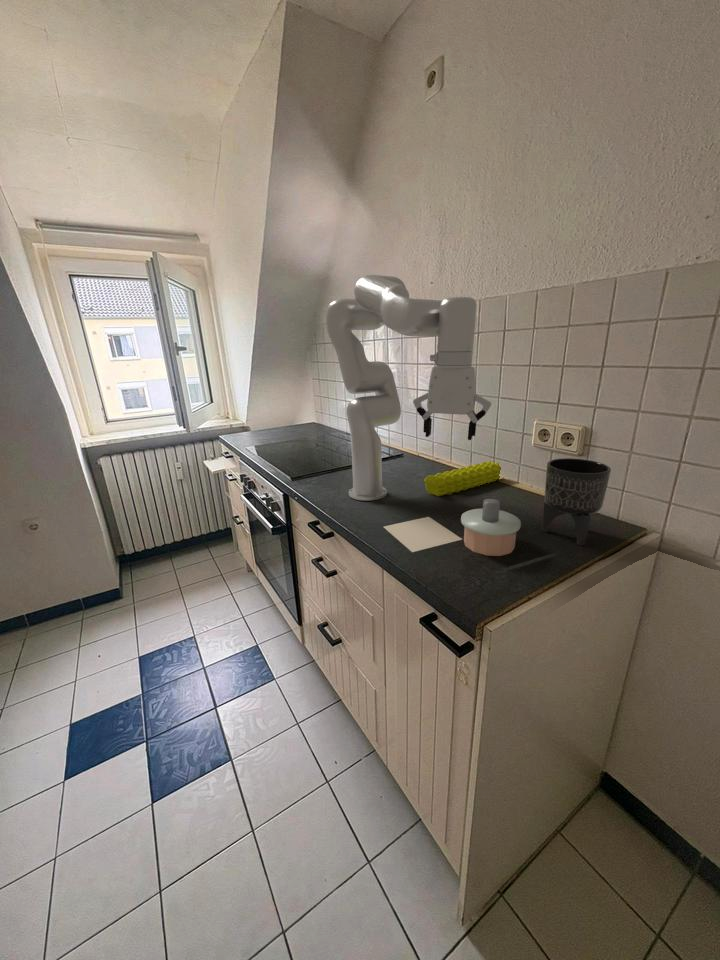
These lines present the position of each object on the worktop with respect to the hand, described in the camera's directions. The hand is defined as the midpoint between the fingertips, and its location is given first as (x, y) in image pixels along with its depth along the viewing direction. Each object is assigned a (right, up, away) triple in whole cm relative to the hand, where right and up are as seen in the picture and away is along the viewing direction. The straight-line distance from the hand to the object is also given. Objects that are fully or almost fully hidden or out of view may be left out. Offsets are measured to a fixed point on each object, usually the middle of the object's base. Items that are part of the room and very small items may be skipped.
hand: (448, 437), depth 88 cm
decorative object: (+15, -13, +40) cm, 45 cm away
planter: (+30, -24, +5) cm, 39 cm away
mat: (-5, -24, +7) cm, 26 cm away
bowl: (+10, -26, +1) cm, 27 cm away
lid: (+9, -20, -1) cm, 22 cm away
